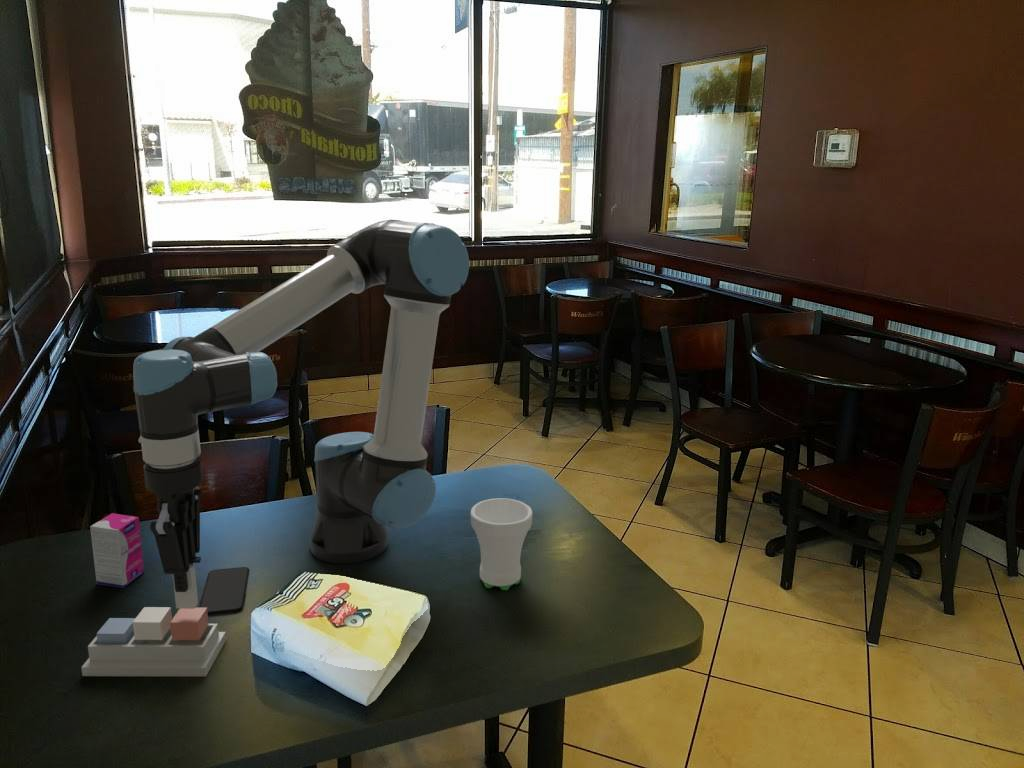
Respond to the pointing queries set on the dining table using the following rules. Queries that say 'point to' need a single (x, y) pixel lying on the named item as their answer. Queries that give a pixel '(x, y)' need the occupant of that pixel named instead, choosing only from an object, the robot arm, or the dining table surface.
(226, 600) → the smartphone
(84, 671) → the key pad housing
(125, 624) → the blue key
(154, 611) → the white key
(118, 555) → the supplement box
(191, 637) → the red key
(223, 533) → the dining table surface
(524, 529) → the cup
